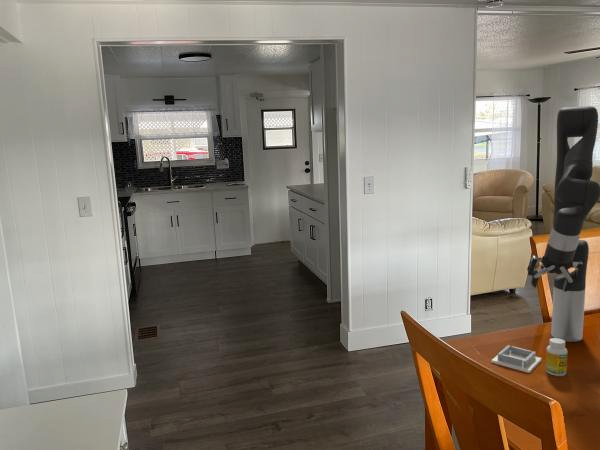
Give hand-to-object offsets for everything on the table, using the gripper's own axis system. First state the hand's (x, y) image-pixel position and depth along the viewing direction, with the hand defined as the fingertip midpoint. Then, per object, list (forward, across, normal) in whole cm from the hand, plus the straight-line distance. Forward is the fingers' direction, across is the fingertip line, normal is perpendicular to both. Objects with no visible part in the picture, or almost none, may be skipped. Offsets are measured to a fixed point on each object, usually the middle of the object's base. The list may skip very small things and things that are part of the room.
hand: (549, 288), depth 151 cm
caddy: (+18, +7, +15) cm, 25 cm away
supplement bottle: (+15, -2, +19) cm, 25 cm away
